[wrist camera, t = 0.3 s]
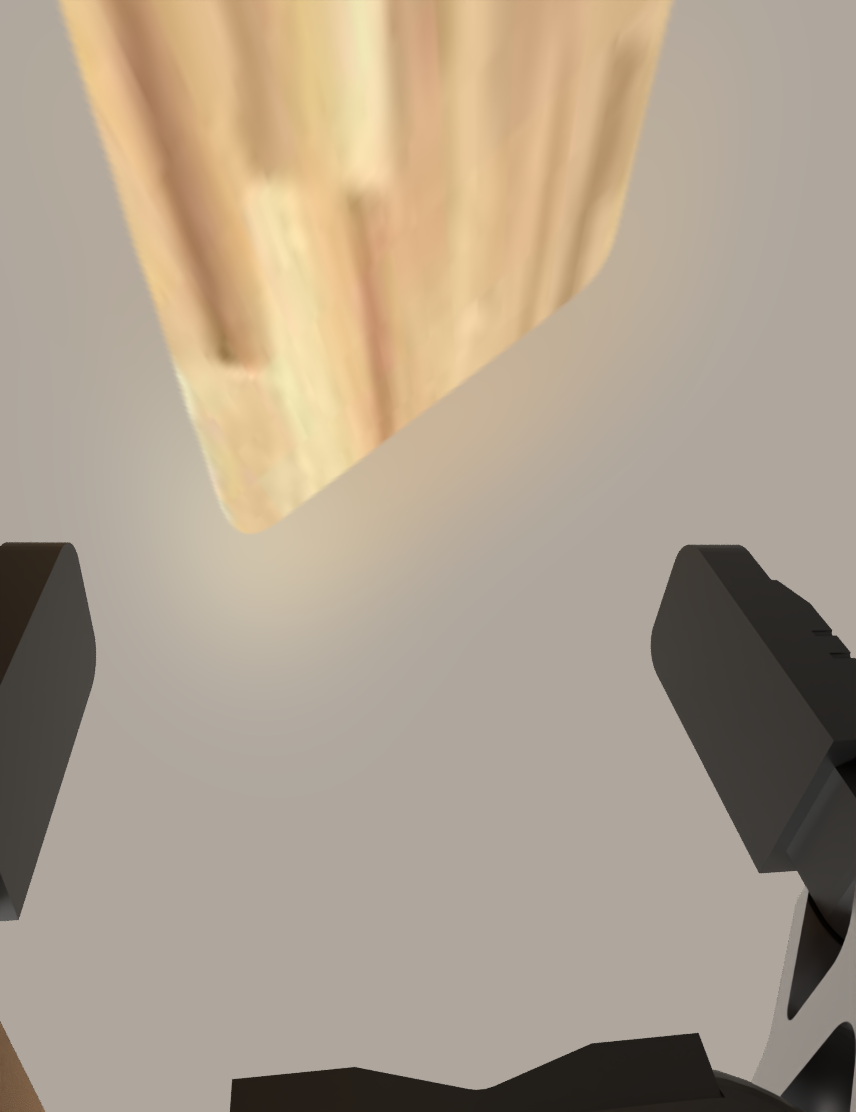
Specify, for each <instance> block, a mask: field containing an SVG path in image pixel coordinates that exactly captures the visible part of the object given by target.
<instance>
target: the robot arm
mask: <svg viewBox="0 0 856 1112" xmlns="http://www.w3.org/2000/svg"><path fill="white" fill-rule="evenodd" d="M651 655H652V661H653V665H654V668H655V671H656V673H657V676H658V677H659V680H660V681H661V683H662V685H663V687H664V689H665V691H666V693H667V695H668V697H669V699H670V701H671V703H672V705H673V707H674V709H675V711H676V713H677V714H678V716H679V718H680V720H681V722H682V724H683V726H684V728H685V730H686V732H687V734H688V736H689V738H690V740H691V742H692V743H693V745H694V747H695V749H696V751H697V753H698V755H699V757H700V759H701V761H702V763H703V765H704V767H705V769H706V771H707V773H708V775H709V777H710V778H711V780H712V782H713V784H714V786H715V788H716V790H717V792H718V794H719V796H720V798H721V800H722V802H723V804H724V806H725V808H726V810H727V812H728V813H729V816H730V818H731V819H732V821H733V823H734V825H735V827H736V829H737V831H738V833H739V835H740V837H741V839H742V841H743V843H744V844H745V847H746V849H747V850H748V852H749V854H750V856H751V858H752V860H753V862H754V864H755V866H756V868H757V870H758V872H759V873H771V872H785V871H798V873H799V875H800V877H801V879H802V880H803V882H804V884H805V887H804V889H803V890H802V892H801V894H800V895H799V897H798V899H797V902H796V905H795V911H794V915H793V921H792V926H791V931H790V936H789V941H788V946H787V951H786V956H785V961H784V967H783V971H782V977H781V982H780V987H779V992H778V997H777V1002H776V1007H775V1012H774V1018H773V1023H772V1027H771V1032H770V1036H769V1039H768V1042H767V1045H766V1048H765V1051H764V1053H763V1056H762V1058H761V1060H760V1063H759V1065H758V1067H757V1069H756V1072H755V1074H754V1077H753V1079H752V1082H749V1081H747V1080H744V1079H741V1078H738V1077H735V1076H732V1075H729V1074H726V1073H723V1072H720V1071H717V1070H712V1068H711V1065H710V1062H709V1060H708V1057H707V1055H706V1052H705V1049H704V1047H703V1044H702V1041H701V1039H700V1036H699V1033H693V1034H683V1035H673V1036H664V1037H654V1038H643V1039H634V1040H622V1041H613V1042H603V1043H592V1044H590V1045H587V1046H585V1047H583V1048H581V1049H578V1050H576V1051H574V1052H571V1053H569V1054H567V1055H565V1056H562V1057H560V1058H558V1059H555V1060H553V1061H551V1062H549V1063H546V1064H544V1065H542V1066H540V1067H537V1068H535V1069H533V1070H530V1071H528V1072H526V1073H523V1074H521V1075H519V1076H517V1077H515V1078H512V1079H510V1080H507V1081H505V1082H503V1083H501V1084H498V1085H496V1086H494V1087H491V1088H487V1089H481V1090H472V1089H465V1088H460V1087H455V1086H449V1085H445V1084H439V1083H434V1082H429V1081H424V1080H419V1079H413V1078H408V1077H403V1076H398V1075H393V1074H388V1073H383V1072H377V1071H372V1070H367V1069H362V1068H357V1067H351V1068H341V1069H332V1070H321V1071H311V1072H301V1073H291V1074H281V1075H271V1076H261V1077H251V1078H242V1079H232V1090H231V1104H230V1112H856V659H855V658H851V657H850V651H849V650H848V649H847V648H846V646H845V645H844V644H843V643H842V642H841V640H840V639H839V638H838V637H837V636H832V629H831V628H830V627H829V626H828V625H827V623H826V622H825V621H824V620H823V619H822V617H821V616H820V615H819V614H818V613H817V611H816V610H815V609H814V608H813V606H812V605H811V604H810V603H809V602H807V601H806V600H804V599H803V598H802V597H800V596H799V595H797V594H796V593H794V592H793V591H792V590H790V589H789V588H787V587H786V586H785V585H783V584H782V583H780V582H779V581H777V580H771V579H770V578H769V577H768V575H767V574H766V573H765V572H764V570H763V569H762V568H761V567H760V565H759V564H758V563H757V562H756V560H755V559H754V558H753V556H752V555H751V554H750V553H749V551H748V550H747V549H746V548H744V547H743V546H741V545H686V546H684V547H683V548H682V549H681V550H680V551H679V553H678V555H677V557H676V559H675V563H674V565H673V569H672V571H671V575H670V578H669V581H668V584H667V587H666V590H665V593H664V596H663V599H662V602H661V605H660V608H659V611H658V615H657V617H656V620H655V624H654V626H653V630H652V635H651ZM95 666H96V645H95V636H94V631H93V626H92V622H91V617H90V612H89V607H88V602H87V597H86V592H85V588H84V583H83V579H82V573H81V569H80V564H79V560H78V555H77V552H76V550H75V548H74V546H73V545H72V544H71V543H38V542H36V543H30V542H28V543H27V542H26V543H24V542H21V543H20V542H14V543H13V542H9V543H8V542H6V543H4V544H2V545H1V546H0V921H9V920H19V917H20V913H21V910H22V907H23V904H24V901H25V898H26V895H27V891H28V888H29V885H30V882H31V879H32V875H33V872H34V869H35V866H36V863H37V860H38V856H39V853H40V850H41V847H42V844H43V840H44V837H45V834H46V831H47V828H48V825H49V821H50V818H51V815H52V812H53V809H54V806H55V802H56V799H57V795H58V793H59V789H60V786H61V783H62V780H63V777H64V774H65V770H66V767H67V764H68V761H69V758H70V754H71V752H72V748H73V745H74V742H75V739H76V736H77V732H78V729H79V726H80V723H81V720H82V717H83V713H84V710H85V707H86V704H87V700H88V697H89V694H90V691H91V688H92V684H93V680H94V674H95ZM0 1112H45V1110H44V1108H43V1106H42V1104H41V1102H40V1100H39V1098H38V1096H37V1094H36V1092H35V1090H34V1088H33V1086H32V1084H31V1082H30V1080H29V1078H28V1076H27V1074H26V1072H25V1070H24V1068H23V1066H22V1064H21V1062H20V1060H19V1058H18V1056H17V1054H16V1052H15V1050H14V1048H13V1046H12V1044H11V1042H10V1040H9V1038H8V1036H7V1034H6V1032H5V1030H4V1028H3V1026H2V1024H1V1022H0Z"/></svg>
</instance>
